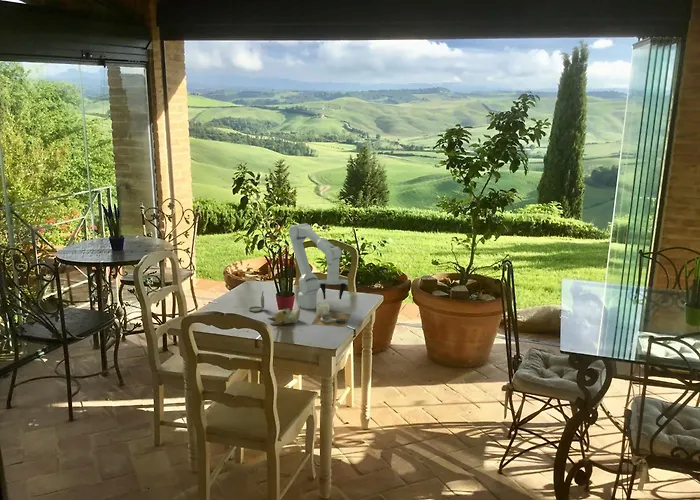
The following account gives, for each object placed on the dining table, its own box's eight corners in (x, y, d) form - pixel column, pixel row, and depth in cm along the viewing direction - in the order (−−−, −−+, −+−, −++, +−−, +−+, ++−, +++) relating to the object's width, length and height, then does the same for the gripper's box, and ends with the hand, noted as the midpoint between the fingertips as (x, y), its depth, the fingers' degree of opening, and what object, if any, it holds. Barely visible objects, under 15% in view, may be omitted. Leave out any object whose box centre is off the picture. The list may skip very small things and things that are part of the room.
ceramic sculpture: (301, 309, 268) (269, 313, 265) (302, 326, 270) (270, 331, 267) (297, 302, 278) (266, 306, 275) (298, 319, 280) (267, 323, 277)
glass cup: (246, 310, 292) (246, 291, 289) (259, 306, 298) (259, 287, 296) (256, 314, 286) (256, 294, 284) (269, 310, 292) (269, 291, 290)
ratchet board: (311, 327, 270) (311, 316, 269) (318, 314, 289) (318, 303, 287) (345, 330, 268) (345, 318, 267) (350, 316, 287) (350, 306, 286)
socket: (316, 316, 280) (316, 306, 279) (318, 313, 286) (318, 302, 284) (327, 317, 280) (327, 306, 279) (329, 314, 285) (329, 303, 284)
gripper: (318, 274, 275) (318, 301, 278) (349, 273, 277) (348, 301, 280) (317, 270, 282) (317, 296, 285) (347, 270, 284) (346, 296, 287)
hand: (332, 298), depth 283 cm, fingers open, 7 cm apart
